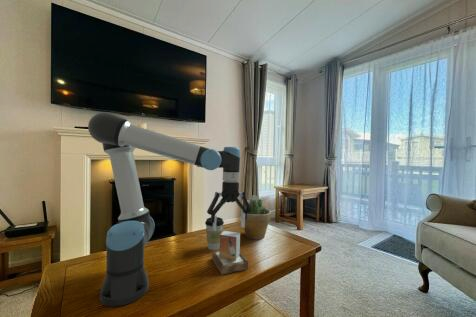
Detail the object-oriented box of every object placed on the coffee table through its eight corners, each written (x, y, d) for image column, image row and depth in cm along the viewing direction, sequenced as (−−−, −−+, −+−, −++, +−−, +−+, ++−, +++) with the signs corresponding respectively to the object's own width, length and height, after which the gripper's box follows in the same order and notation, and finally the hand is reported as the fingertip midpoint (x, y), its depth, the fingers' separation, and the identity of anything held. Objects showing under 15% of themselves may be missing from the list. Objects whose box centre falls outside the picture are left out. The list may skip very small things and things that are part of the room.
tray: (221, 274, 85) (221, 265, 85) (212, 258, 98) (212, 250, 98) (247, 269, 90) (248, 260, 90) (235, 254, 103) (236, 246, 103)
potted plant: (237, 231, 134) (238, 192, 134) (265, 229, 138) (265, 192, 137) (243, 243, 116) (244, 198, 116) (275, 241, 120) (275, 198, 119)
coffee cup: (220, 253, 104) (220, 223, 104) (201, 250, 106) (202, 221, 106) (225, 244, 114) (225, 217, 113) (208, 243, 116) (208, 216, 115)
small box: (219, 258, 92) (219, 234, 92) (223, 252, 98) (223, 230, 98) (236, 261, 90) (236, 236, 90) (239, 255, 95) (240, 232, 95)
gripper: (205, 182, 85) (203, 234, 85) (259, 182, 95) (257, 228, 95) (201, 180, 92) (199, 228, 92) (252, 180, 102) (250, 223, 102)
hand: (228, 228), depth 94 cm, fingers open, 13 cm apart
